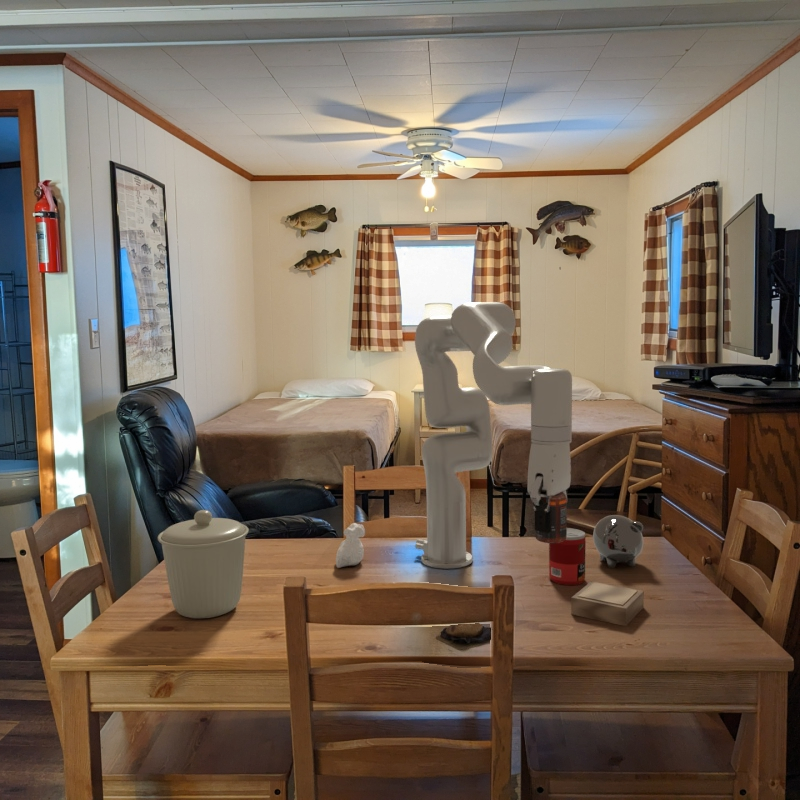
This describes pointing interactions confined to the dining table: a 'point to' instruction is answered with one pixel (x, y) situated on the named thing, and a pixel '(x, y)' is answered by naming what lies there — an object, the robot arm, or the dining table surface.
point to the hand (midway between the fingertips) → (550, 526)
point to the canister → (204, 564)
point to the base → (607, 603)
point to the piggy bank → (618, 540)
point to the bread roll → (465, 635)
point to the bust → (351, 546)
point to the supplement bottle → (555, 520)
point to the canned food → (568, 559)
